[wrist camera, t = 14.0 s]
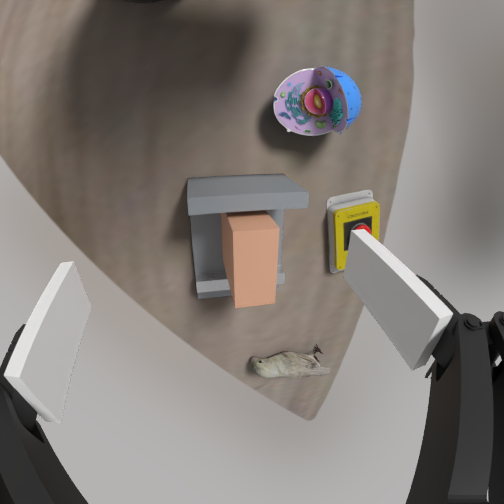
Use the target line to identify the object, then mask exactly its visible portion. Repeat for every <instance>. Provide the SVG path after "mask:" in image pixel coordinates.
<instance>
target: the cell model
mask: <svg viewBox="0 0 504 504" xmlns="http://www.w3.org/2000/svg"><path fill="white" fill-rule="evenodd" d="M274 98H275V100H274V102H273V108H274V113H275V116H276V118H277V119H278V121H279V122H280V123H281V124H282V125H283V126H284V127H285V128H286V129H287V132H291V131H292V132H295V133H298V134H301V135H307V136H317V135H322V134H326V133H328V132H331V131H335V132H337V133H338V134H339V135H340V134H341V133H342V132H343V131H344V130H346V129H347V128H348V127H349V126H350V125H351V124H352V123H353V122H354V121H355V120H356V119H357V117H358V115H359V113H360V110H361V105H362V98H361V93H360V90H359V88H358V86H357V84H356V83H355V82H354V80H353V79H352V78H351V77H350V76H348V75H347V74H346V73H344V72H342V71H340V70H337V69H335V68H331V67H327V66H317V67H316V68H310V69H303V70H300V71H297V72H295V73H293V74H291V75H290V76H288V77H287V78H286V79H285V80H284V81H283V82H282V83H281V84H280V85H279V87H278V88H277V90H276V92H275V94H274Z"/></svg>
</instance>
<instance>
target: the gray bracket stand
mask: <svg viewBox="0 0 504 504" xmlns="http://www.w3.org/2000/svg"><path fill="white" fill-rule="evenodd" d="M308 200H309V192H308V191H307V190H306V189H304V188H303V187H301V186H300V185H299V184H297V183H296V182H294V181H293V180H291V179H290V178H288V177H287V176H286V175H284V174H256V175H232V176H214V177H199V178H188V186H187V202H188V215H190V222H191V234H192V245H193V256H194V266H195V274H199V273H210V272H220V271H225V267H224V263H223V251H222V226H221V213H226V212H240V211H256V210H266V211H267V213H268V214H269V215H270V216H271V218H272V219H273V220H274V222H275V223H276V224H277V226H278V227H279V228H280V229H279V247H278V264H277V266H280V265H281V254H282V238H283V220H284V209H295V208H308ZM276 290H279V284H276ZM224 296H232V295H231V291H230V290H221V291H211V292H201V293H198V299H204V298H214V297H224Z"/></svg>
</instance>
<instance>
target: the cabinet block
mask: <svg viewBox="0 0 504 504" xmlns="http://www.w3.org/2000/svg"><path fill="white" fill-rule="evenodd" d="M221 226H222V251H223V263H224V267H225V271H226V275H227V279H228V283H229V287H230V291H231V295H232V299H233V302H234V306H235V308H240V307H248V306H257V305H264V304H272V303H275V294H276V279H277V264H278V247H279V229H280V228H279V227H278V226H277V224H276V223H275V222H274V220H273V219H272V218H271V216H270V215H269V214H268V213H267V211H266V210H256V211H240V212H226V213H221Z"/></svg>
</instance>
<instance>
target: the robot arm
mask: <svg viewBox="0 0 504 504" xmlns="http://www.w3.org/2000/svg"><path fill="white" fill-rule="evenodd" d="M127 1H132V2H153V1H159V0H127ZM343 278H344V279H345V280H346V281H347V283H348V284H349V285H350V287H351V288H352V289H353V290H354V292H355V293H356V294H357V296H358V297H359V298H360V300H361V301H362V302H363V304H364V305H365V306H366V308H367V309H368V310H369V312H370V313H371V314H372V316H373V317H374V318H375V319H376V321H377V322H378V323H379V325H380V326H381V328H382V329H383V330H384V332H385V333H386V334H387V336H388V337H389V339H390V340H391V341H392V343H393V344H394V346H395V347H396V349H397V350H398V351H399V353H400V354H401V355H402V357H403V358H404V360H405V361H406V363H407V364H408V365H409V367H410V369H411V370H415V369H417V368H419V367H421V366H423V365H425V364H426V363H427V361H428V359H429V358H430V356H431V354H432V355H433V357H434V358H435V361H434V362H433V364H432V366H431V367H430V369H429V370H428V372H427V373H426V376H425V378H428V376H429V375H430V373H431V372H432V377H431V387H430V397H429V405H428V412H427V418H426V425H425V430H424V436H423V441H422V446H421V450H420V455H419V459H418V463H417V467H416V471H415V475H414V478H413V482H412V485H411V489H410V492H409V495H408V498H407V501H406V504H504V312H500V311H499V312H496V313H495V314H494V316H493V318H492V320H491V321H490V322H482V321H481V320H480V319H479V318H477V317H476V316H474V315H472V314H468V313H464V314H460V313H459V312H458V311H457V310H456V309H455V308H454V307H453V306H452V305H451V304H450V303H449V302H448V301H447V300H446V299H445V298H444V297H443V296H442V295H440V293H439V292H438V291H437V290H436V289H434V287H433V286H432V285H431V284H430V283H429V282H428V281H427V280H425V279H423V278H422V277H420V276H418V275H414V273H412V272H411V271H410V270H409V269H408V268H407V267H406V266H405V265H404V264H403V263H402V262H401V261H400V260H399V259H397V258H396V257H395V256H394V255H393V254H392V253H391V252H389V250H388V249H386V248H385V247H384V246H383V245H382V244H381V243H380V242H378V241H377V240H376V239H375V238H374V237H373V236H372V235H370V234H369V233H368V232H367V231H366V230H365V229H360V230H351V235H350V242H349V248H348V254H347V259H346V265H345V271H344V276H343ZM91 309H92V307H91V305H90V302H89V300H88V297H87V295H86V292H85V290H84V287H83V284H82V282H81V279H80V276H79V274H78V271H77V268H76V265H75V262H74V261H71V262H63V263H61V264H60V265H59V267H58V268H57V270H56V271H55V273H54V275H53V276H52V279H51V280H50V281H49V283H48V285H47V286H46V288H45V290H44V292H43V293H42V295H41V297H40V299H39V301H38V302H37V304H36V306H35V308H34V310H33V312H32V314H31V316H30V318H29V320H28V322H27V324H24V325H22V327H21V328H20V329H19V330H18V331H17V332H16V334H15V336H14V338H13V340H12V342H11V343H12V344H11V345H10V347H9V349H8V352H7V353H6V356H5V358H4V360H3V363H2V365H1V367H0V504H88V503H87V501H86V500H85V499H84V497H83V496H82V494H81V493H80V492H79V490H78V489H77V488H76V486H75V484H74V483H73V482H72V480H71V478H70V477H69V475H68V474H67V472H66V471H65V469H64V467H63V466H62V464H61V463H60V461H59V459H58V457H57V456H56V454H55V452H54V451H53V449H52V447H51V445H50V443H49V441H48V439H47V438H46V436H45V434H44V432H43V430H42V428H41V426H40V424H39V423H38V422H37V421H36V417H37V413H38V414H39V415H40V416H41V417H42V418H43V419H44V420H45V421H48V422H54V423H61V422H62V417H63V412H64V406H65V402H66V397H67V392H68V388H69V384H70V379H71V376H72V372H73V368H74V364H75V360H76V357H77V353H78V350H79V346H80V343H81V340H82V336H83V333H84V330H85V327H86V324H87V321H88V318H89V315H90V312H91ZM499 355H500V356H501V359H502V361H501V362H500V364H499V365H498V366H496V364H495V361H496V359H497V358H498V357H499ZM487 490H489V491H488V496H489V502H487V499H486V498H487Z"/></svg>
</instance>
